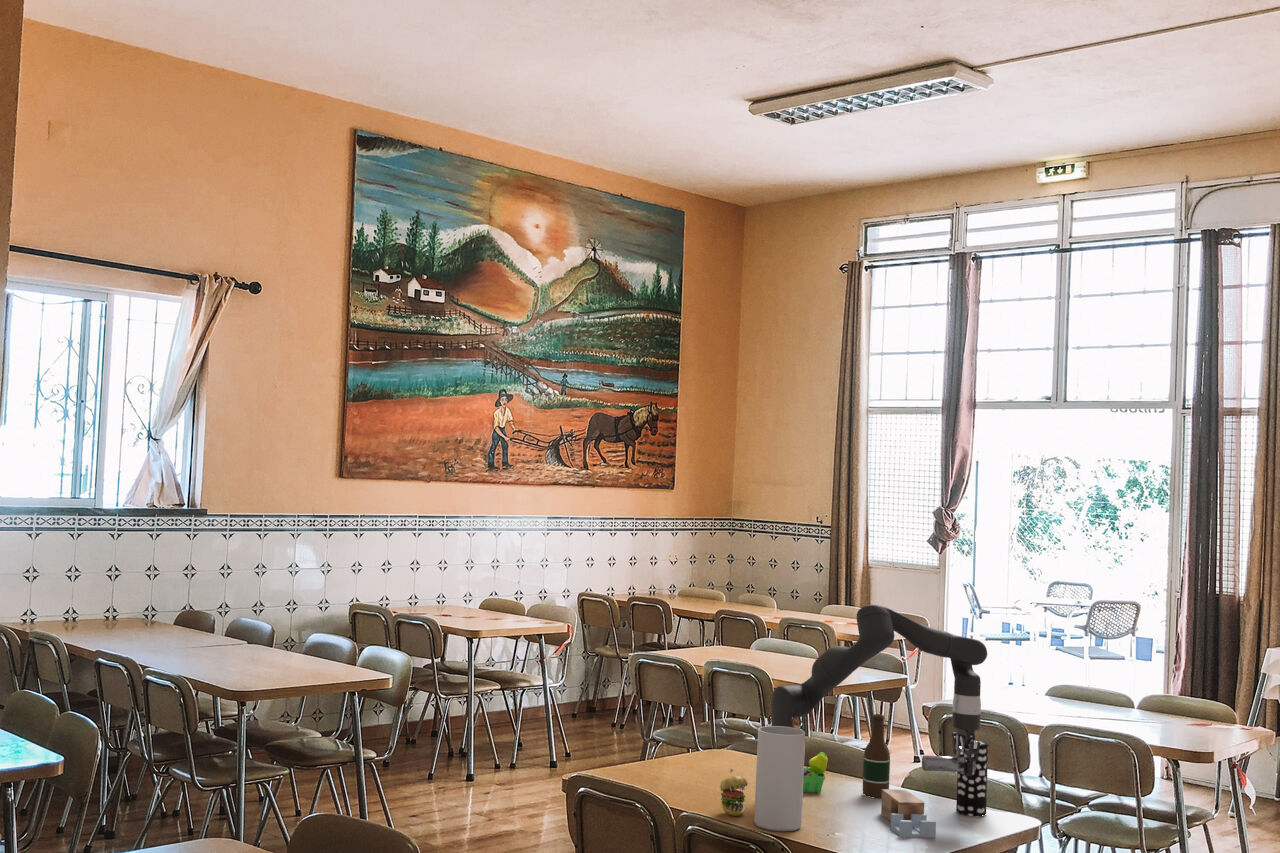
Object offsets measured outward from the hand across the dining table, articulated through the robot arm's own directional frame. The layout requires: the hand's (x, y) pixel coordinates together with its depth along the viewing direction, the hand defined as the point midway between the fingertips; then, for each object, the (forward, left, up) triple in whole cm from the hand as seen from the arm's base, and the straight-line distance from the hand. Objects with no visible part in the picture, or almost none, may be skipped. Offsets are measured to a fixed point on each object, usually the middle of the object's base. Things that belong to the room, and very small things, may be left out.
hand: (964, 773), depth 318 cm
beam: (-16, +4, -14) cm, 22 cm away
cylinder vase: (-53, -4, -14) cm, 55 cm away
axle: (-5, 0, +1) cm, 5 cm away
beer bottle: (-14, +32, -14) cm, 38 cm away
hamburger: (-63, +7, -14) cm, 65 cm away
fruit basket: (-32, +38, -14) cm, 52 cm away
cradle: (-17, -8, -14) cm, 24 cm away
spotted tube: (+8, +14, -14) cm, 22 cm away
